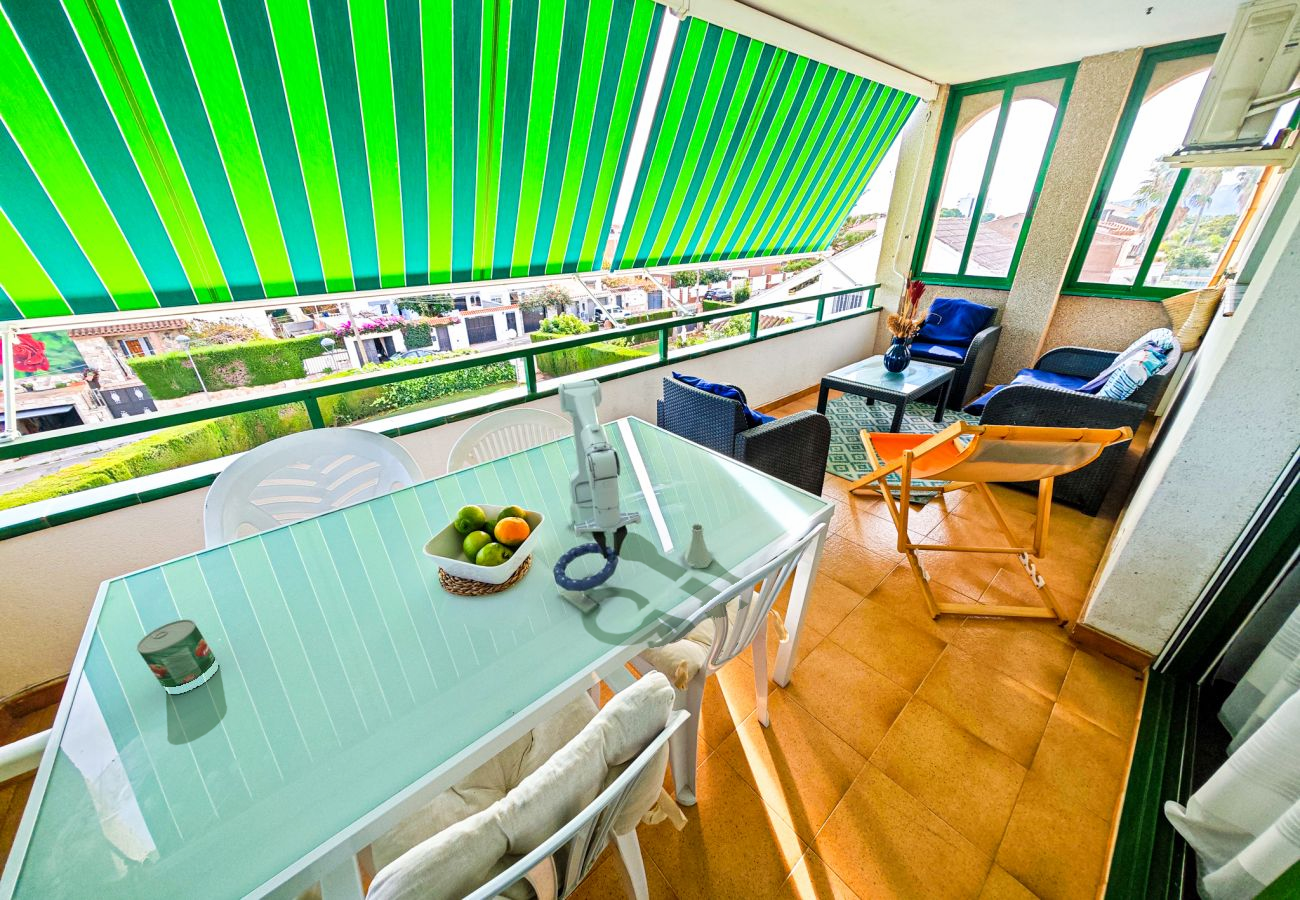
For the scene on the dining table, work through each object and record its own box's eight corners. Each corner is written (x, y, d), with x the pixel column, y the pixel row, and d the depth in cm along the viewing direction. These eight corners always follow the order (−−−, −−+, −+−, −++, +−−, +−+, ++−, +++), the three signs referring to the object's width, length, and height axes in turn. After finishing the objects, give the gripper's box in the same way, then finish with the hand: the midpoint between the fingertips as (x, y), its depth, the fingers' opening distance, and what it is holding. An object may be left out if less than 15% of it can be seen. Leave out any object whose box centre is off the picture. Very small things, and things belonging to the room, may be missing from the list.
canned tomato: (229, 663, 92) (205, 622, 87) (185, 698, 85) (157, 655, 80) (199, 657, 94) (175, 616, 89) (154, 691, 87) (124, 648, 82)
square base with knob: (561, 596, 106) (559, 582, 104) (590, 576, 112) (588, 562, 110) (586, 615, 100) (585, 600, 99) (616, 592, 106) (614, 578, 105)
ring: (542, 577, 103) (539, 569, 102) (589, 541, 112) (587, 534, 111) (584, 603, 94) (581, 594, 93) (631, 561, 103) (629, 553, 102)
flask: (710, 570, 112) (711, 536, 108) (681, 567, 114) (680, 534, 110) (712, 552, 119) (713, 520, 115) (685, 550, 120) (684, 517, 116)
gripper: (575, 519, 93) (582, 573, 98) (644, 505, 97) (646, 557, 102) (570, 502, 99) (576, 554, 104) (634, 490, 103) (637, 540, 108)
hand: (610, 554), depth 104 cm, fingers closed on ring, 2 cm apart
